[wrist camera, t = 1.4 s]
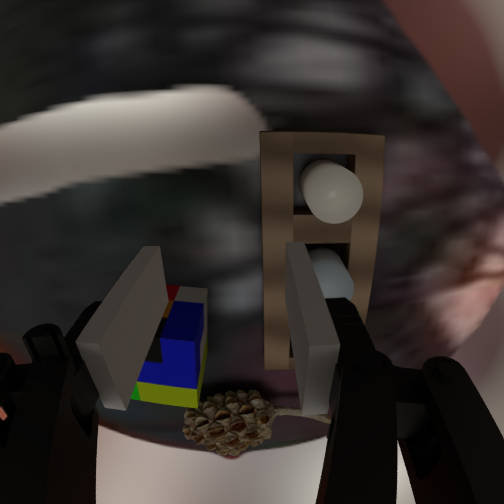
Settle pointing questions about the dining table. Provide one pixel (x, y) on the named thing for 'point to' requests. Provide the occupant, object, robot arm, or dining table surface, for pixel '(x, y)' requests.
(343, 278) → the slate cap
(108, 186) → the dining table surface
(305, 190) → the offwhite cap
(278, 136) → the button board
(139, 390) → the puzzle toy
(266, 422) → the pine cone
